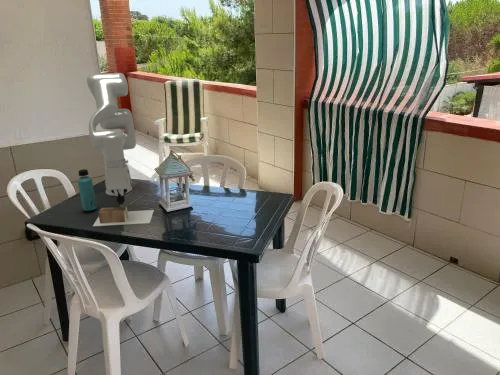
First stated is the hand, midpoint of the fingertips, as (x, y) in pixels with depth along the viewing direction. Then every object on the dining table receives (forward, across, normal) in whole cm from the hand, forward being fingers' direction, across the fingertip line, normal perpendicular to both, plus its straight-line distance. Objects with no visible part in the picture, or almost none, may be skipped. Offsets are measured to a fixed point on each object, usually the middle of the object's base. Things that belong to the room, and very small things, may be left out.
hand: (121, 203), depth 175 cm
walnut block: (+5, -2, 0) cm, 5 cm away
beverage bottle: (+8, +18, -13) cm, 24 cm away
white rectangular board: (+8, 0, -2) cm, 8 cm away
